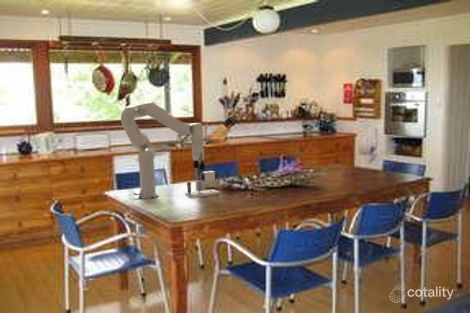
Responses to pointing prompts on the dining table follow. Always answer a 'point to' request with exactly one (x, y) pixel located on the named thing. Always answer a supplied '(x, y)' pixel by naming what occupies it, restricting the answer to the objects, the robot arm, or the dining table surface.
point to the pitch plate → (199, 194)
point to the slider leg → (199, 186)
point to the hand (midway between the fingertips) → (199, 168)
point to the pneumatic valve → (208, 177)
